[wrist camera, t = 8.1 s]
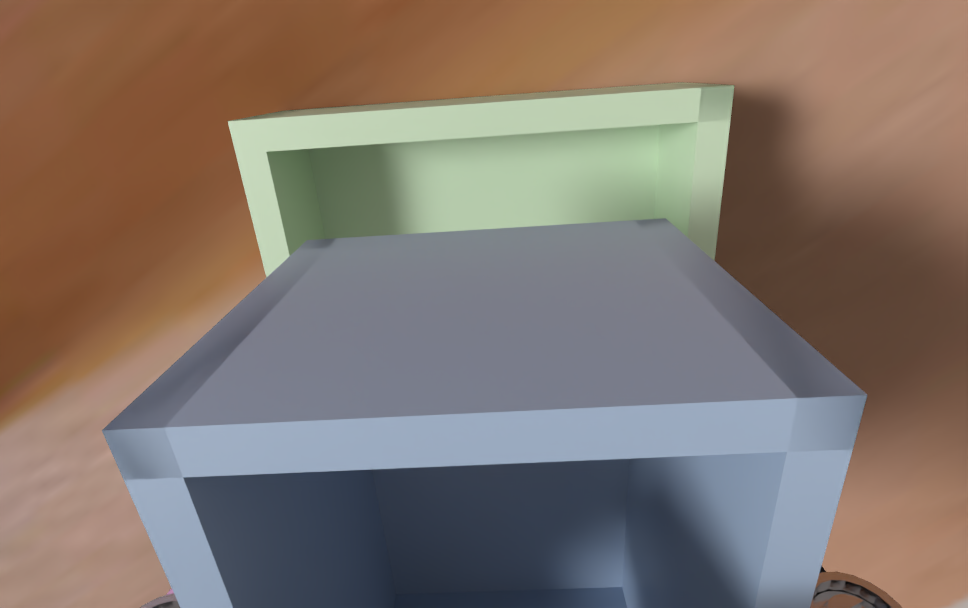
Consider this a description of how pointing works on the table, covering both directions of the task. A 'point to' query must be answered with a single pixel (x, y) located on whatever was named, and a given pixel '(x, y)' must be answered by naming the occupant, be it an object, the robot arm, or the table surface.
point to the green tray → (487, 164)
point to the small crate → (494, 431)
